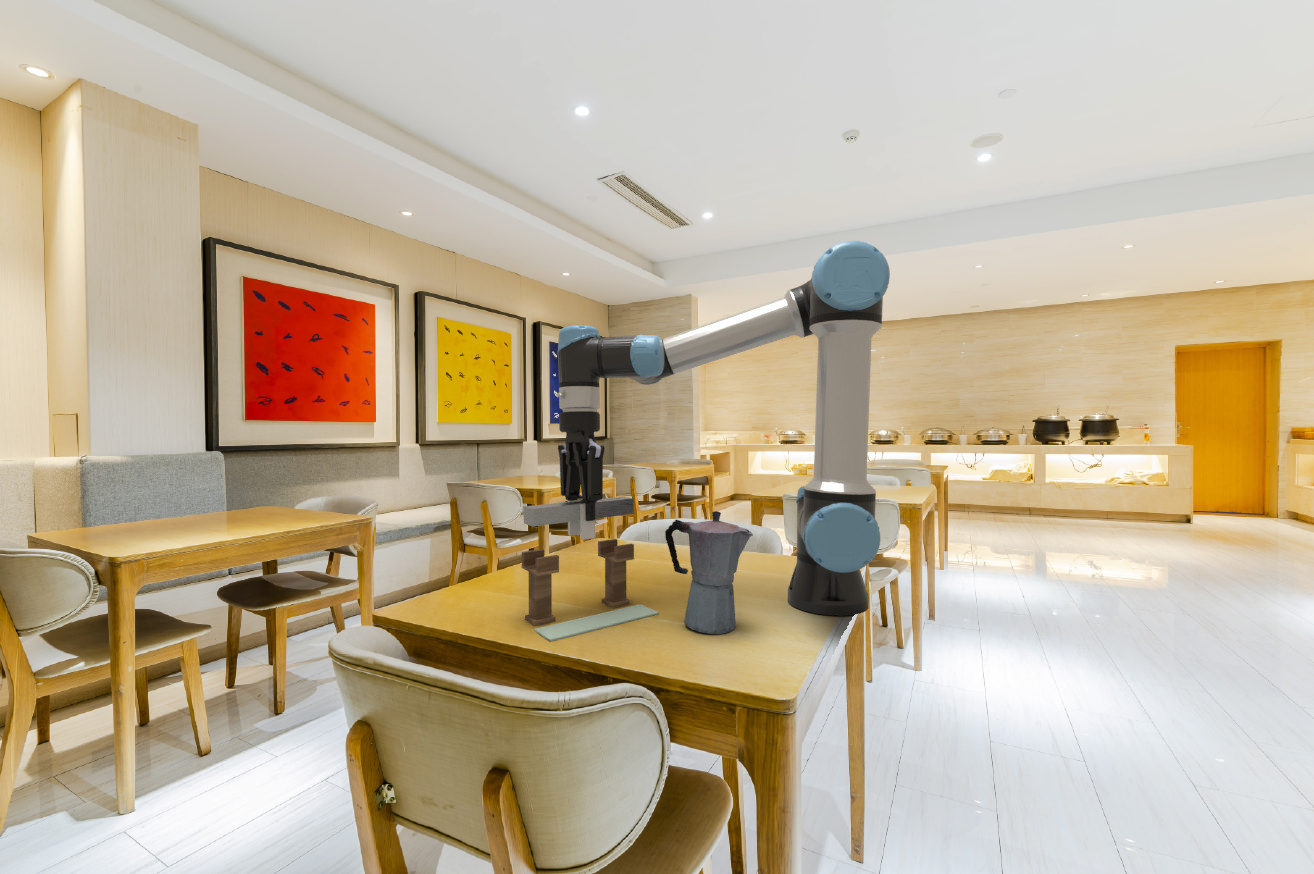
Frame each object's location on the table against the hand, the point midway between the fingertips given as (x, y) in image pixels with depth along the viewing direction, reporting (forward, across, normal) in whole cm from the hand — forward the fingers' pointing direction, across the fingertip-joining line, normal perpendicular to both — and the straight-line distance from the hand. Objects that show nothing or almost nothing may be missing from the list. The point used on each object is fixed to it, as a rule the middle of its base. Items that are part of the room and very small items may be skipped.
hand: (581, 536), depth 103 cm
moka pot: (+15, +20, +14) cm, 28 cm away
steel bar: (-3, 0, 0) cm, 3 cm away
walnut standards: (+14, 0, 0) cm, 14 cm away
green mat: (+14, +6, 0) cm, 16 cm away
